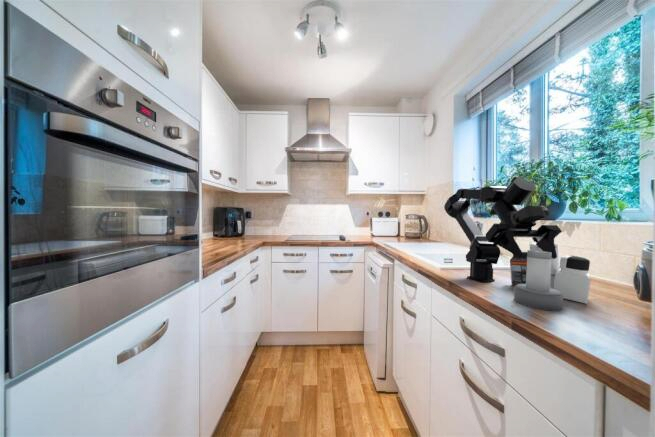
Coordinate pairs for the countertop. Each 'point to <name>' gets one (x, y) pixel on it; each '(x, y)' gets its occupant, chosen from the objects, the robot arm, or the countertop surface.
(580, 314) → the countertop surface
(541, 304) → the charcoal stand
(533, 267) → the white and grey cylinder
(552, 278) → the syrup box
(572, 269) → the medicine bottle
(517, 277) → the supplement bottle
